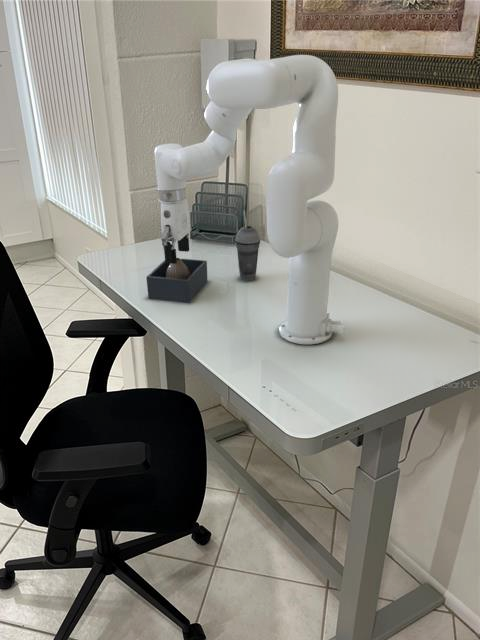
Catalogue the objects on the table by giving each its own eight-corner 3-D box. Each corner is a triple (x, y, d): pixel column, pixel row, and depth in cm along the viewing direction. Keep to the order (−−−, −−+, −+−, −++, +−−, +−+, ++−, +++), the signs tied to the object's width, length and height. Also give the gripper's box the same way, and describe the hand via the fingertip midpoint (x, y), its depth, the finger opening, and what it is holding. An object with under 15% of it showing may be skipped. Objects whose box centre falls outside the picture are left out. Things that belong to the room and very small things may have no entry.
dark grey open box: (207, 281, 174) (206, 260, 170) (189, 303, 162) (188, 280, 158) (168, 278, 178) (167, 257, 174) (148, 298, 166) (146, 276, 162)
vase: (190, 292, 166) (188, 263, 161) (166, 293, 166) (163, 264, 162) (190, 283, 172) (189, 254, 167) (167, 284, 172) (165, 255, 168)
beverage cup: (251, 285, 170) (251, 216, 159) (230, 280, 174) (229, 212, 163) (264, 276, 175) (265, 209, 164) (244, 272, 179) (243, 206, 168)
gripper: (173, 203, 147) (178, 268, 156) (197, 186, 160) (200, 247, 169) (146, 202, 149) (153, 267, 158) (171, 186, 163) (176, 246, 172)
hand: (177, 256), depth 164 cm, fingers open, 9 cm apart
